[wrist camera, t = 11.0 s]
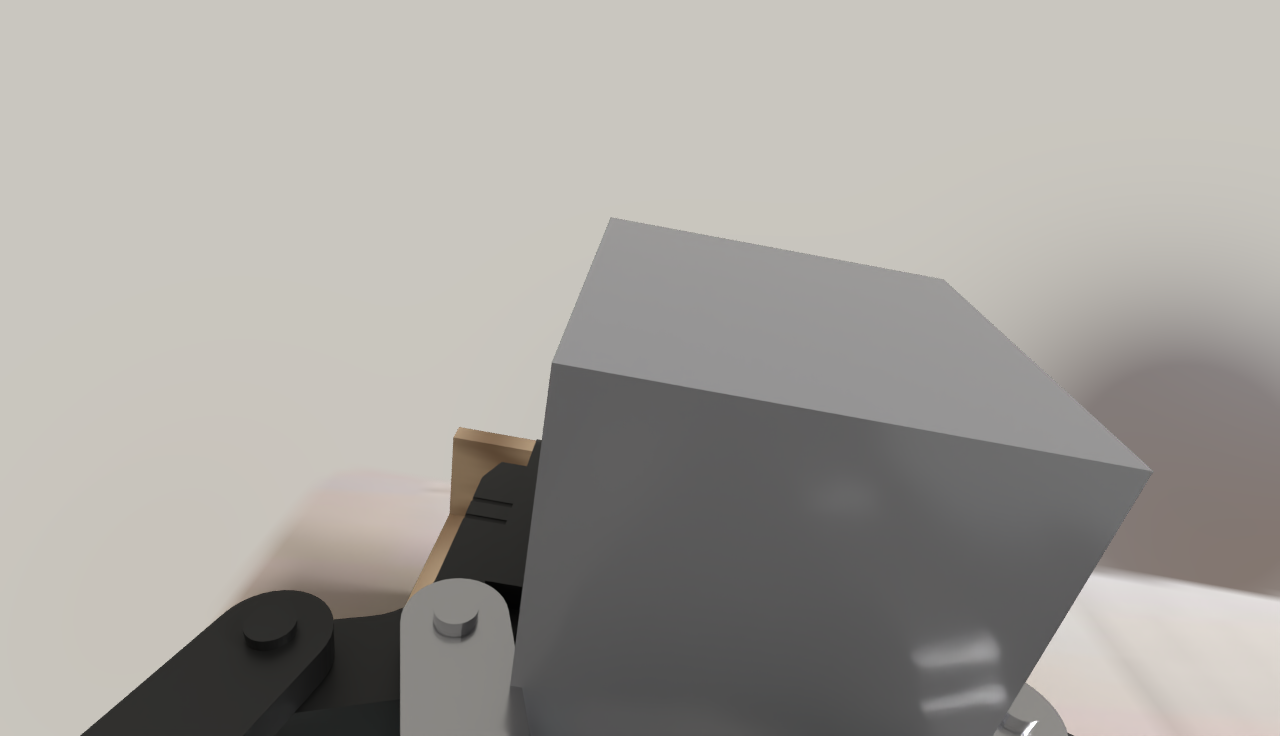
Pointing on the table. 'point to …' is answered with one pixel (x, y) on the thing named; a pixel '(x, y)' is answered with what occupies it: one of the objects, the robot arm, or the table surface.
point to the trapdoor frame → (470, 484)
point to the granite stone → (798, 502)
